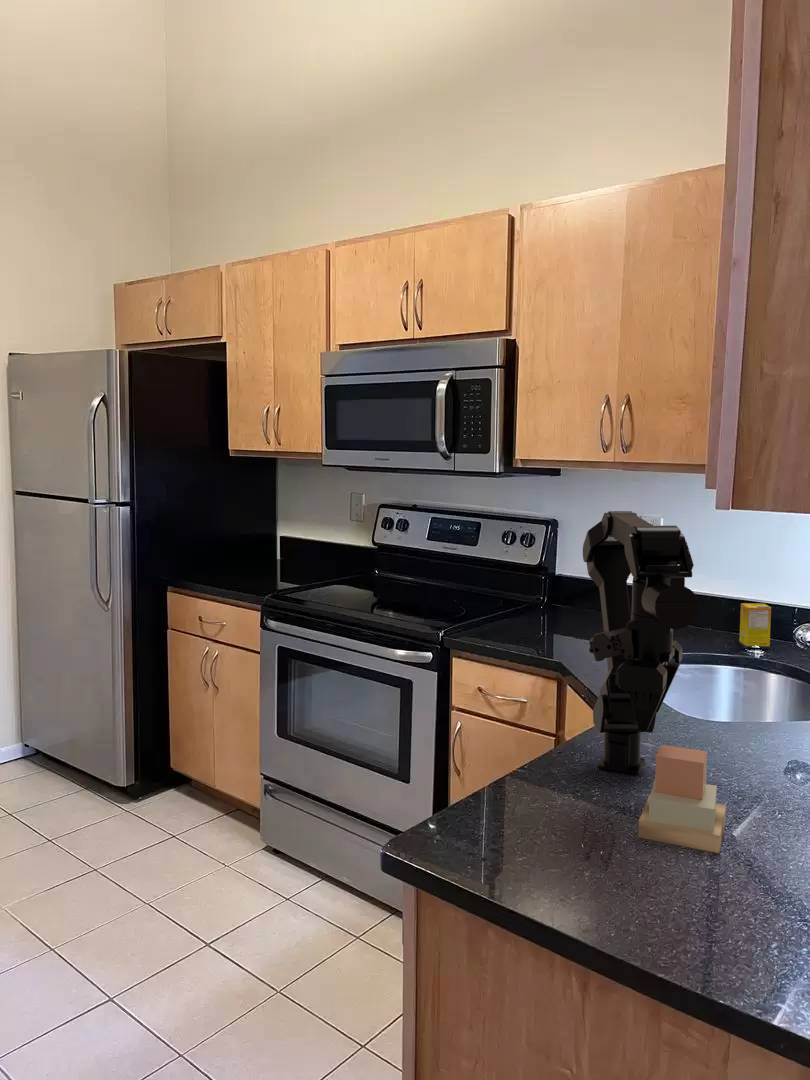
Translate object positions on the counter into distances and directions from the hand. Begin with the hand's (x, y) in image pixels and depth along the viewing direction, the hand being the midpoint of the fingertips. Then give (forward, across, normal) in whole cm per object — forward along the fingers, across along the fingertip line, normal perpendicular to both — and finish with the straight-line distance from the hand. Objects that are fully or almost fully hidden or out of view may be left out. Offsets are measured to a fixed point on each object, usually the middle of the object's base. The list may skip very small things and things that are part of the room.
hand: (648, 720), depth 118 cm
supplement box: (+12, -108, +8) cm, 109 cm away
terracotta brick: (+7, +6, +6) cm, 11 cm away
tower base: (+13, +7, +6) cm, 16 cm away
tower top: (+10, +7, +6) cm, 13 cm away
